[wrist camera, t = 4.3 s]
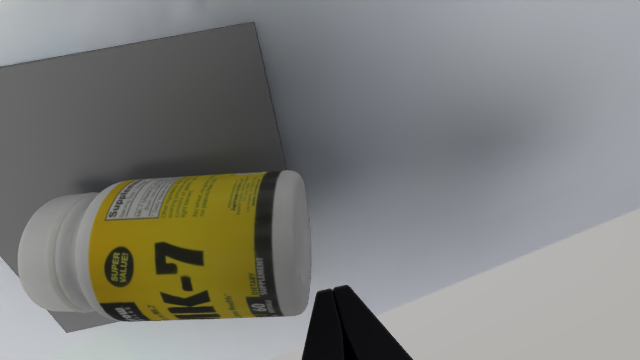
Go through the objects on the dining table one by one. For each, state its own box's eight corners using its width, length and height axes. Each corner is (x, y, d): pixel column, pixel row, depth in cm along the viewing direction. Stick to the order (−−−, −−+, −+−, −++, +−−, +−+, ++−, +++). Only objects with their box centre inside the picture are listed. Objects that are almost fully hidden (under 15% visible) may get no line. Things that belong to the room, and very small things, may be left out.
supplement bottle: (309, 347, 11) (59, 354, 12) (315, 242, 15) (126, 252, 16) (286, 234, 9) (-33, 251, 9) (300, 142, 13) (75, 159, 13)
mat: (253, 21, 12) (253, 23, 12) (310, 274, 18) (310, 278, 18) (-131, 90, 11) (-140, 93, 11) (69, 327, 18) (66, 332, 17)
